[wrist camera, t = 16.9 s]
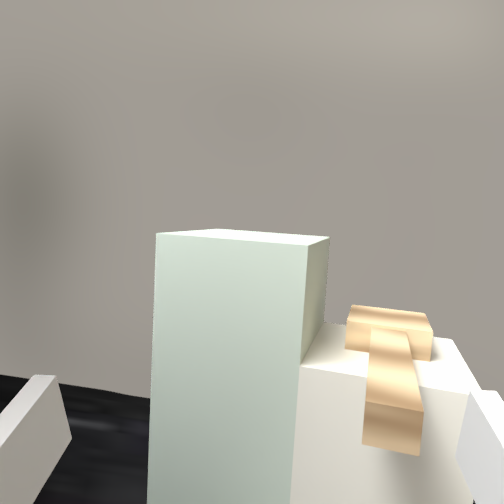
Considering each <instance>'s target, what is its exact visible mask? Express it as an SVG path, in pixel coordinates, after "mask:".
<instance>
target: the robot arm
mask: <svg viewBox="0 0 504 504" xmlns="http://www.w3.org/2000/svg"><path fill="white" fill-rule="evenodd" d="M71 439H72V437H71V433H70V429H69V425H68V421H67V417H66V413H65V409H64V405H63V401H62V397H61V393H60V389H59V385H58V381H57V377H56V376H53V375H33V377H32V378H31V379H30V380H29V381H28V382H27V384H26V385H25V386H24V387H23V388H22V389H21V390H20V392H19V393H18V394H17V395H16V396H15V397H14V399H13V400H12V401H11V402H10V403H9V404H8V406H7V407H6V408H5V409H4V410H3V411H2V413H1V414H0V504H33V502H34V501H35V499H36V497H37V496H38V494H39V492H40V491H41V489H42V487H43V486H44V484H45V482H46V481H47V479H48V477H49V476H50V474H51V472H52V471H53V469H54V467H55V466H56V464H57V462H58V461H59V459H60V457H61V456H62V454H63V452H64V451H65V449H66V447H67V446H68V444H69V442H70V441H71ZM455 458H456V461H457V463H458V465H459V467H460V469H461V472H462V474H463V476H464V478H465V481H466V483H467V485H468V487H469V490H470V492H471V494H472V496H473V499H474V501H475V503H476V504H504V402H503V401H502V399H501V398H500V396H499V395H498V393H497V392H496V391H480V390H470V392H469V396H468V401H467V405H466V409H465V414H464V418H463V423H462V427H461V431H460V436H459V440H458V445H457V449H456V454H455Z"/></svg>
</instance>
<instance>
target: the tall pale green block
mask: <svg viewBox="0 0 504 504" xmlns="http://www.w3.org/2000/svg"><path fill="white" fill-rule="evenodd" d="M329 245H330V237H322V236H308V235H295V234H281V233H268V232H254V231H241V230H240V231H239V230H227V229H211V230H210V229H209V230H197V231H181V232H167V233H156V260H155V288H154V316H153V345H152V373H151V374H152V375H151V402H150V431H149V460H148V489H147V504H473V496H472V494H471V492H470V490H469V487H468V485H467V483H466V481H465V478H464V476H463V474H462V472H461V469H460V467H459V465H458V463H457V461H456V458H455V454H456V449H457V445H458V440H459V436H460V431H461V427H462V423H463V418H464V414H465V409H466V405H467V401H468V396H469V392H470V390H480V391H482V390H481V388H480V387H479V385H478V383H477V382H476V380H475V378H474V376H473V375H472V373H471V371H470V370H469V368H468V366H467V364H466V363H465V361H464V359H463V358H462V356H461V354H460V353H459V351H458V349H457V347H456V346H455V344H454V342H453V341H452V339H445V338H438V337H433V338H432V348H431V357H430V362H427V361H420V360H413V359H412V361H413V365H414V369H415V374H416V378H417V383H418V387H419V392H420V396H421V401H422V405H423V410H424V417H423V426H422V436H421V445H420V455H419V456H414V455H410V454H405V453H400V452H396V451H391V450H386V449H382V448H377V447H372V446H368V445H363V444H362V432H363V420H364V408H365V397H366V385H367V373H368V361H369V353H367V352H360V351H354V350H347V349H345V338H346V326H347V325H341V324H334V323H326V322H324V309H325V296H326V284H327V270H328V258H329Z"/></svg>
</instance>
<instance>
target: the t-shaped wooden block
mask: <svg viewBox="0 0 504 504" xmlns="http://www.w3.org/2000/svg"><path fill="white" fill-rule="evenodd" d="M432 338H433V331H432V329H431V327H430V324H429V322H428V320H427V318H426V315H425V314H424V313H418V312H409V311H401V310H392V309H384V308H375V307H367V306H359V305H352V307H351V310H350V313H349V316H348V319H347V326H346V338H345V349H347V350H354V351H360V352H367V353H369V361H368V373H367V385H366V397H365V408H364V420H363V432H362V444H363V445H368V446H372V447H377V448H382V449H386V450H391V451H396V452H400V453H405V454H410V455H414V456H419V455H420V445H421V436H422V426H423V417H424V410H423V405H422V401H421V396H420V392H419V387H418V383H417V378H416V374H415V369H414V365H413V361H412V359H413V360H420V361H427V362H430V357H431V348H432Z"/></svg>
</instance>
